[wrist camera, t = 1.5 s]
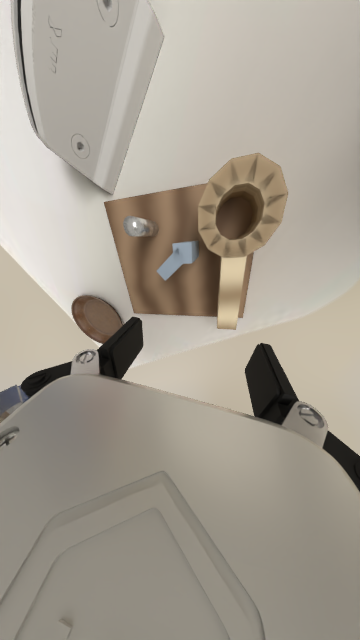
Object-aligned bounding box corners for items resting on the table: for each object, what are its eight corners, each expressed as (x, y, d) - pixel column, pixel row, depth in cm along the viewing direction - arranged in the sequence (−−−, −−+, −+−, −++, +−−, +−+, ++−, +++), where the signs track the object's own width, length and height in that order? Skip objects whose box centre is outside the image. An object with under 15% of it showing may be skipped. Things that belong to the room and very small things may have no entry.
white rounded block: (112, 197, 24) (31, 153, 15) (96, 179, 24) (10, 128, 16) (166, 30, 15) (45, -295, 6) (139, 9, 15) (-4, -314, 7)
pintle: (159, 220, 24) (136, 214, 17) (161, 235, 25) (140, 235, 18) (147, 222, 24) (121, 216, 18) (150, 237, 25) (125, 237, 19)
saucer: (69, 299, 38) (59, 303, 36) (109, 285, 33) (101, 289, 31) (99, 341, 44) (93, 346, 42) (136, 335, 39) (131, 341, 37)
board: (264, 175, 18) (267, 172, 18) (242, 315, 29) (242, 317, 28) (107, 203, 24) (103, 202, 23) (136, 311, 35) (134, 313, 34)
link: (203, 184, 19) (197, 165, 14) (276, 170, 17) (299, 143, 12) (202, 311, 29) (199, 327, 24) (248, 313, 27) (255, 330, 22)
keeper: (199, 240, 24) (191, 242, 17) (199, 268, 26) (192, 280, 19) (170, 242, 25) (152, 245, 18) (173, 269, 27) (157, 281, 20)
